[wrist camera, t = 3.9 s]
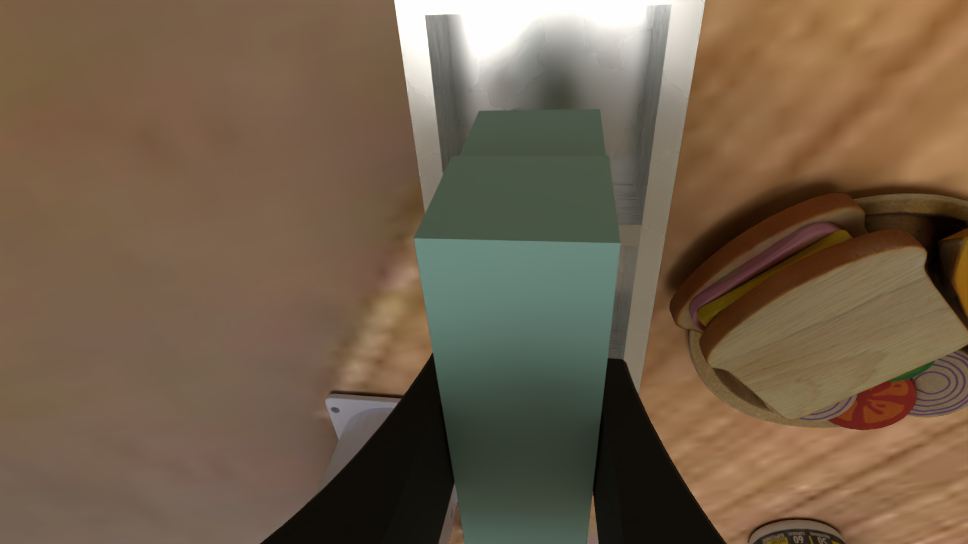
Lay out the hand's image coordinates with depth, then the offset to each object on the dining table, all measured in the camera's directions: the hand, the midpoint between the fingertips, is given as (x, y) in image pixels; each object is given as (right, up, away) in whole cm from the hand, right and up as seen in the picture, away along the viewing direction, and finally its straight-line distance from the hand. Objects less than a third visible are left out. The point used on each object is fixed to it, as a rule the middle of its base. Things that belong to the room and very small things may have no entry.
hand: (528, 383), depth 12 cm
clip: (+1, +3, +4) cm, 5 cm away
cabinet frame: (+1, +6, +8) cm, 10 cm away
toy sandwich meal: (+14, +1, +10) cm, 17 cm away
